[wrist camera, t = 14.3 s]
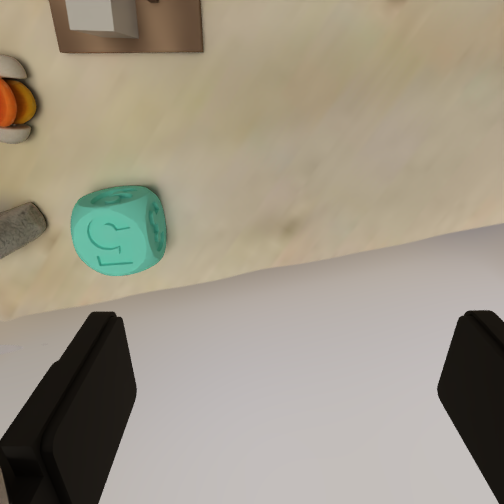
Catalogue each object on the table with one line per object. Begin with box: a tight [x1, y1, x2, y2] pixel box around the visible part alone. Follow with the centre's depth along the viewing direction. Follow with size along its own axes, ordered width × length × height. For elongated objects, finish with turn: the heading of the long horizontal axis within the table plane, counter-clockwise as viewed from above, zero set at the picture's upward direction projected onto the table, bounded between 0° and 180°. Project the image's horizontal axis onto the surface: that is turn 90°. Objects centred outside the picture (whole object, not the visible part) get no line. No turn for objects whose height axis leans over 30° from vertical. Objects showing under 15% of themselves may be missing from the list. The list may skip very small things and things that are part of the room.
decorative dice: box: [71, 186, 166, 276], centre depth 41 cm, size 8×8×8 cm
